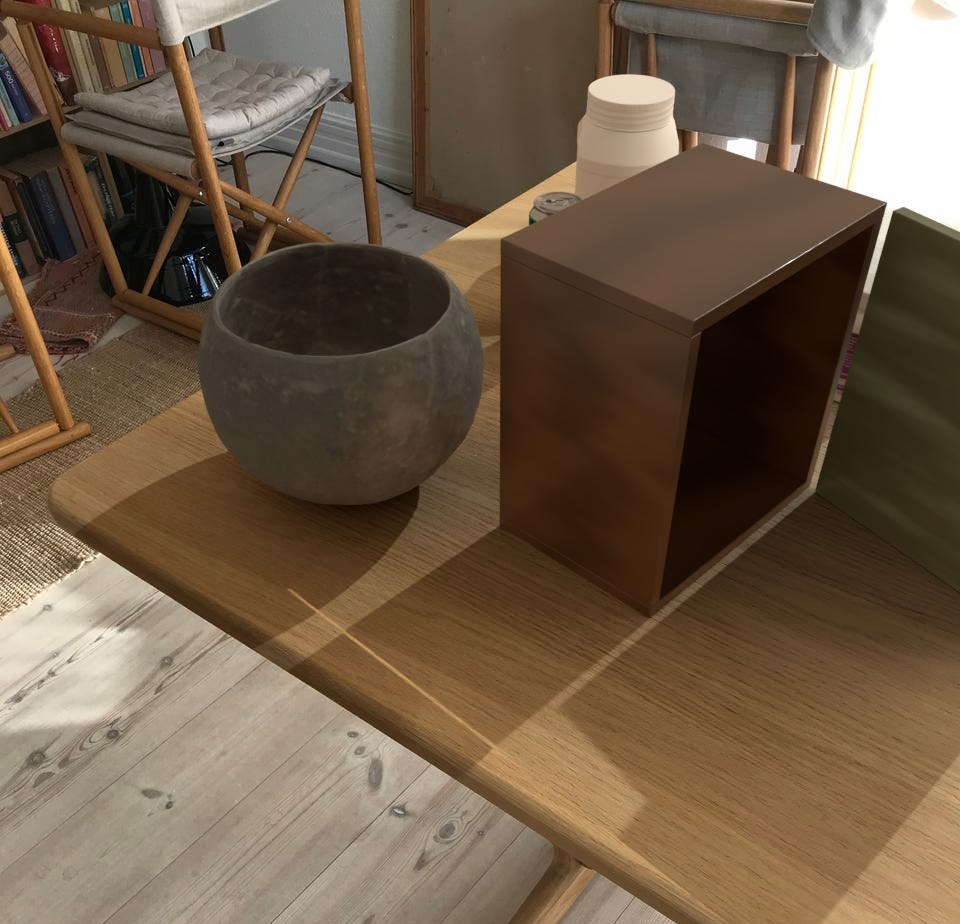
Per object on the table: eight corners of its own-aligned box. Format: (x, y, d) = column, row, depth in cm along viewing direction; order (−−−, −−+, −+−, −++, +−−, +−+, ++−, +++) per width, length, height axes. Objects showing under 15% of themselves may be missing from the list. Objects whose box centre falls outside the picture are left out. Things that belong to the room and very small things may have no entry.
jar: (667, 269, 105) (687, 111, 94) (572, 267, 105) (581, 110, 94) (660, 219, 113) (678, 68, 102) (572, 218, 113) (580, 68, 102)
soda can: (582, 344, 95) (591, 214, 86) (527, 344, 95) (530, 215, 86) (578, 316, 98) (586, 188, 90) (525, 316, 98) (528, 189, 90)
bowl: (366, 595, 72) (342, 410, 61) (168, 487, 81) (117, 309, 70) (534, 455, 83) (539, 278, 72) (344, 373, 92) (324, 204, 81)
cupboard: (810, 487, 80) (887, 202, 64) (648, 619, 70) (693, 321, 54) (664, 415, 87) (702, 142, 71) (499, 526, 77) (500, 238, 61)
